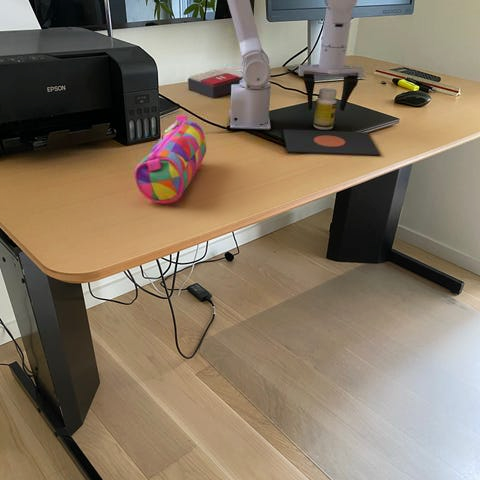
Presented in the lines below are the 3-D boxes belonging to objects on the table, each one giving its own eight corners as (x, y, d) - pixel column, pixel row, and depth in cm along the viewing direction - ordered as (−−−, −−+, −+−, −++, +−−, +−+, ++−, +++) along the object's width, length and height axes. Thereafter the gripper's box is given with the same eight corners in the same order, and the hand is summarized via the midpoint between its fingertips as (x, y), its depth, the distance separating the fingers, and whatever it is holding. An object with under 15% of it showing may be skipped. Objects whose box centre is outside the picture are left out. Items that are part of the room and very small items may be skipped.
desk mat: (287, 152, 109) (287, 150, 109) (283, 131, 120) (283, 128, 120) (379, 156, 109) (380, 153, 109) (367, 134, 120) (367, 131, 120)
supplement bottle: (332, 131, 121) (337, 93, 116) (312, 129, 122) (317, 92, 116) (333, 124, 125) (338, 88, 120) (314, 122, 125) (318, 86, 120)
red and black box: (186, 75, 142) (225, 65, 150) (188, 91, 145) (225, 80, 153) (213, 83, 136) (252, 72, 144) (214, 100, 139) (252, 88, 147)
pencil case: (162, 158, 104) (159, 113, 98) (207, 161, 103) (207, 116, 98) (134, 205, 87) (129, 153, 81) (188, 210, 87) (187, 158, 81)
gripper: (303, 47, 109) (296, 113, 117) (370, 50, 109) (359, 115, 118) (300, 41, 114) (294, 104, 123) (364, 43, 115) (353, 106, 123)
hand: (325, 109), depth 121 cm, fingers open, 7 cm apart
